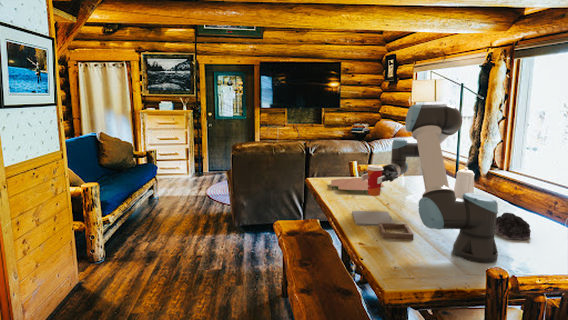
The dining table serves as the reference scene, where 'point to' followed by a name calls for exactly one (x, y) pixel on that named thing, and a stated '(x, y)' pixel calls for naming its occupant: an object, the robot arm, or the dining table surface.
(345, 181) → the house
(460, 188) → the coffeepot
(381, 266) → the dining table surface
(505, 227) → the dark brown lumpy mound
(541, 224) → the dining table surface
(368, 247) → the dining table surface
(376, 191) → the paper cup
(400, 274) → the dining table surface
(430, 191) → the robot arm
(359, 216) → the slate tile
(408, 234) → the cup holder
